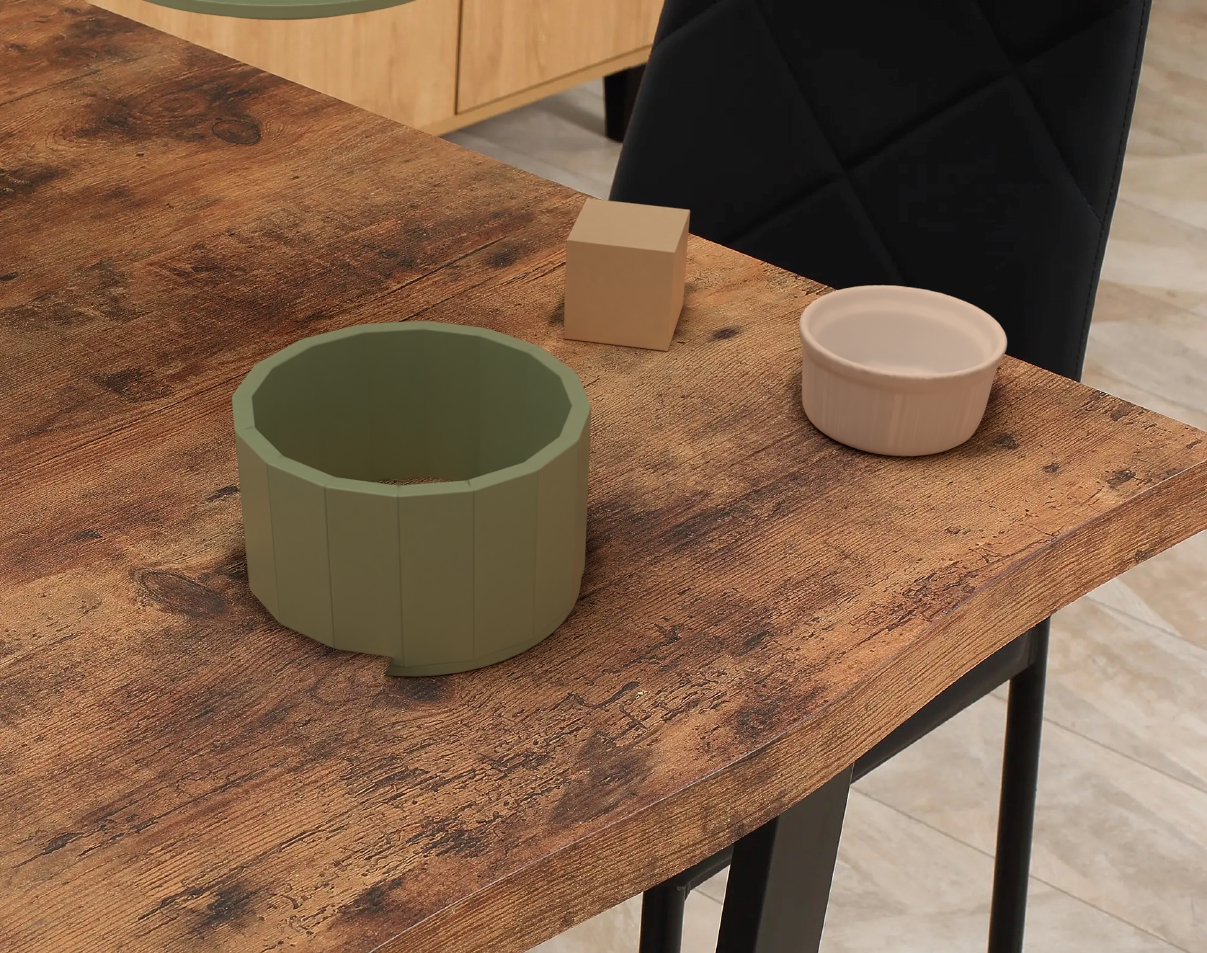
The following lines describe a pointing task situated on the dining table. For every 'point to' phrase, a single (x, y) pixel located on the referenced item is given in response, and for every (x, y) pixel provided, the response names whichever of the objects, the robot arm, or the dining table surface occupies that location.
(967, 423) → the ramekin
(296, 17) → the tin lid
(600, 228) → the tan cube
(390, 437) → the tin
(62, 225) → the dining table surface
